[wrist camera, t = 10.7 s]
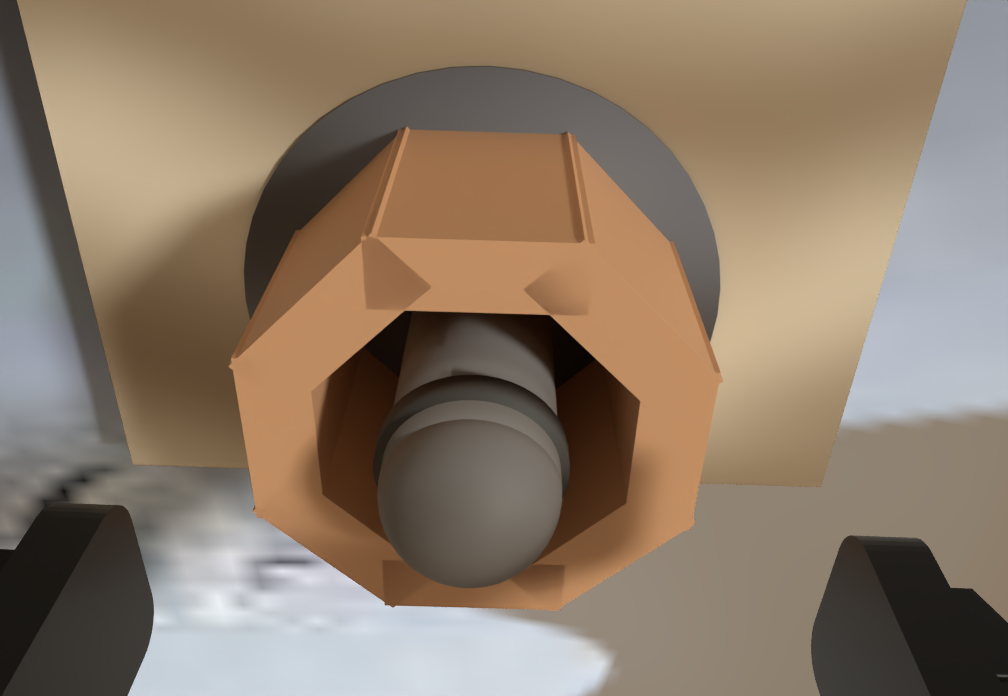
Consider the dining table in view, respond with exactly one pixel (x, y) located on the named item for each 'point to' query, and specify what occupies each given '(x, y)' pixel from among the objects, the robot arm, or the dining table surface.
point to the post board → (490, 108)
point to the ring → (479, 289)
